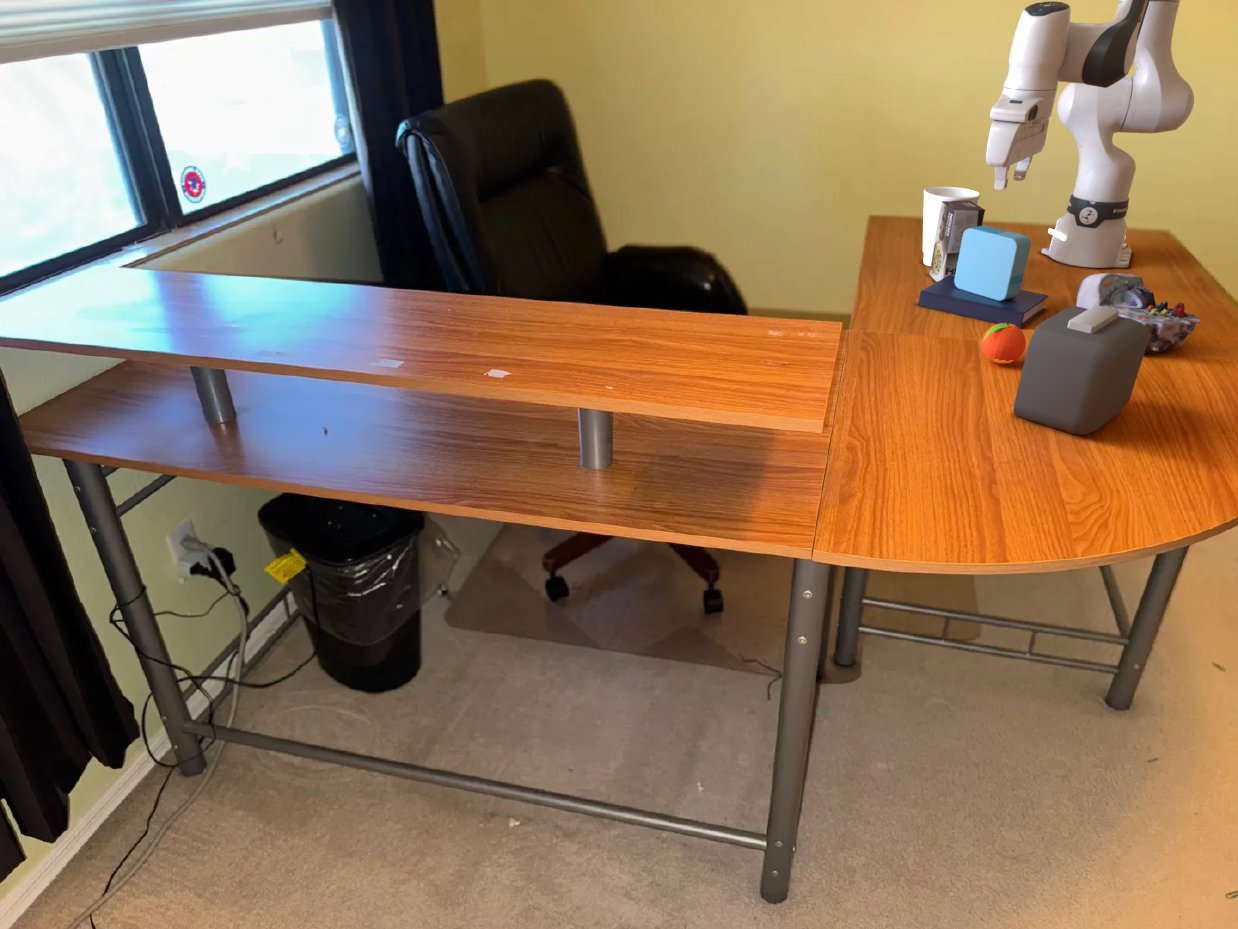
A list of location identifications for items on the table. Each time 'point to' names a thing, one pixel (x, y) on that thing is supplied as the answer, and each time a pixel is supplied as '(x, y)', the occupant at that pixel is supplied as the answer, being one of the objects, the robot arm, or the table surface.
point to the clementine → (1003, 342)
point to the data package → (992, 262)
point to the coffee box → (952, 235)
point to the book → (982, 303)
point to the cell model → (1138, 308)
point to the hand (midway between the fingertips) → (1009, 184)
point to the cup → (932, 212)
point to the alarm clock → (1080, 368)
